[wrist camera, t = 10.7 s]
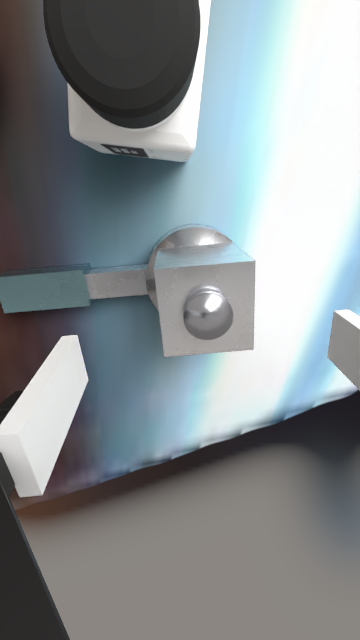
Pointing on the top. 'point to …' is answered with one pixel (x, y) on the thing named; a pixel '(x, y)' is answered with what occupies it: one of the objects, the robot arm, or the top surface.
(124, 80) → the container
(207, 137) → the top surface
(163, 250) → the cube with chrome knob
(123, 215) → the top surface
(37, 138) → the top surface
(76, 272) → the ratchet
